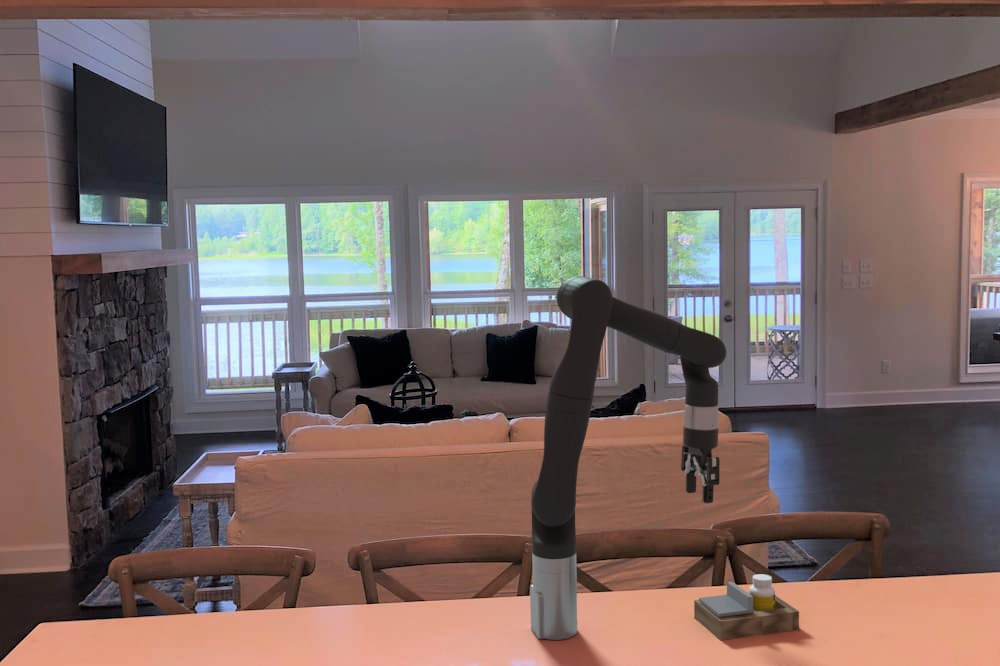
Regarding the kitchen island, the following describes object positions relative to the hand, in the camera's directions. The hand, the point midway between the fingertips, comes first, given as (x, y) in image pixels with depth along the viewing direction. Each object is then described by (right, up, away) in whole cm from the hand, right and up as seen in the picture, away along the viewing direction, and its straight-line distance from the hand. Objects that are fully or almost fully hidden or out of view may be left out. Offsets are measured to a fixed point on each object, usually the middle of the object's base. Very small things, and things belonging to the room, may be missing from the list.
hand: (699, 497), depth 201 cm
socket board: (+9, -26, -7) cm, 28 cm away
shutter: (+4, -22, -8) cm, 24 cm away
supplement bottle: (+12, -26, -5) cm, 29 cm away
